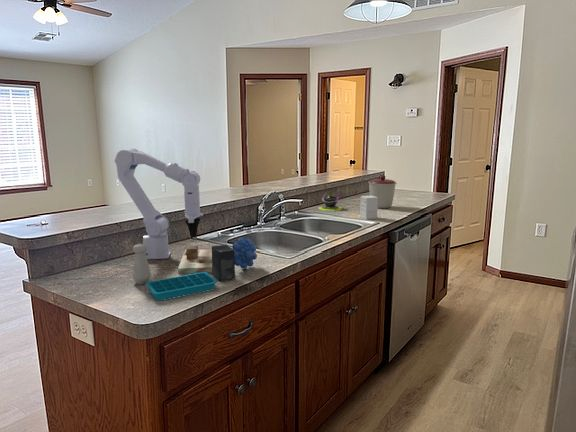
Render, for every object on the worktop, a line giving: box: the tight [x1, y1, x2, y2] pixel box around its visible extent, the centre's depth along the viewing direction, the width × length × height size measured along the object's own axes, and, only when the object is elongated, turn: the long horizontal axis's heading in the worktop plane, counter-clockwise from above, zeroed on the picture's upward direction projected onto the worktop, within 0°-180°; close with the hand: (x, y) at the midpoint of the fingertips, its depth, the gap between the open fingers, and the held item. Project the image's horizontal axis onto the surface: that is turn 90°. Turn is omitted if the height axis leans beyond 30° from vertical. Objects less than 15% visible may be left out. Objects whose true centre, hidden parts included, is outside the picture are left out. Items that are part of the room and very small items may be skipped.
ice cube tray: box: [145, 272, 218, 302], centre depth 135 cm, size 12×20×3 cm, turn 121°
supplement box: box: [359, 195, 378, 221], centre depth 242 cm, size 7×7×13 cm
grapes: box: [231, 237, 258, 270], centre depth 154 cm, size 12×7×12 cm, turn 134°
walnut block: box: [185, 245, 199, 259], centre depth 161 cm, size 4×4×4 cm
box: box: [211, 244, 236, 282], centre depth 146 cm, size 8×6×11 cm
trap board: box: [177, 248, 212, 275], centre depth 162 cm, size 12×23×2 cm, turn 7°
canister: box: [367, 174, 398, 209], centre depth 275 cm, size 18×18×21 cm
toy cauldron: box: [318, 191, 343, 212], centre depth 271 cm, size 15×15×11 cm
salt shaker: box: [131, 243, 152, 285], centre depth 140 cm, size 6×6×13 cm
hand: (193, 236), depth 168 cm, fingers closed
